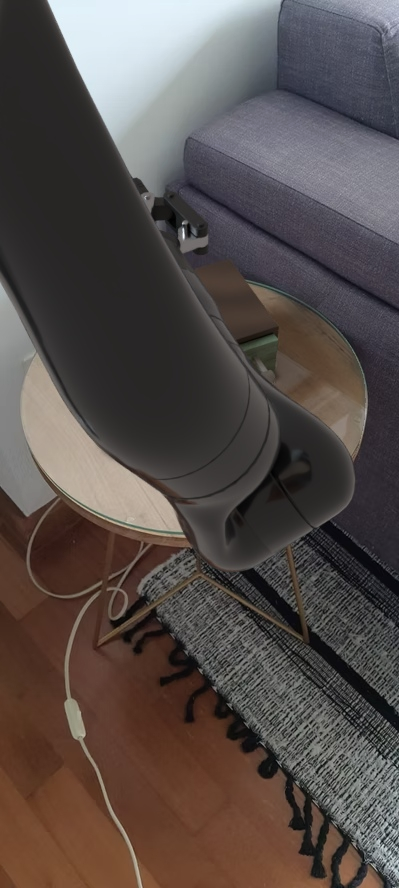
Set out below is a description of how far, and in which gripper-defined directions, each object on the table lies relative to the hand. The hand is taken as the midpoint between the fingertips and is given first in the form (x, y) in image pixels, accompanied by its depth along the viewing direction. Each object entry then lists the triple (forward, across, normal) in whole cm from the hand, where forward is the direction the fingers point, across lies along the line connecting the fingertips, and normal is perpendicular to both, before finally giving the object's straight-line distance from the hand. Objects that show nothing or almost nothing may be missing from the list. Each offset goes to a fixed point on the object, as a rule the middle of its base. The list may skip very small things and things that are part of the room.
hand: (88, 192), depth 59 cm
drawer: (+2, -13, +29) cm, 32 cm away
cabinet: (+6, -13, +30) cm, 33 cm away
